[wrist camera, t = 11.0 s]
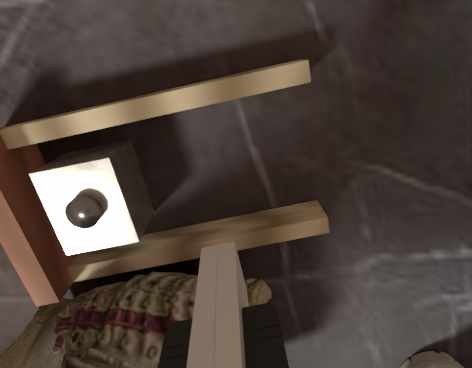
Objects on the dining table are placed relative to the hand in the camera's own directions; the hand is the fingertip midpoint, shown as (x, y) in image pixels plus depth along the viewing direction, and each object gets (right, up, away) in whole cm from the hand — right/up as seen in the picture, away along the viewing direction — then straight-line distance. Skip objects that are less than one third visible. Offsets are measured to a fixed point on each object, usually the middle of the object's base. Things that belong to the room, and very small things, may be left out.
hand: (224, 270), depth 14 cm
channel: (-5, +5, +14) cm, 16 cm away
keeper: (-11, +4, +15) cm, 19 cm away
